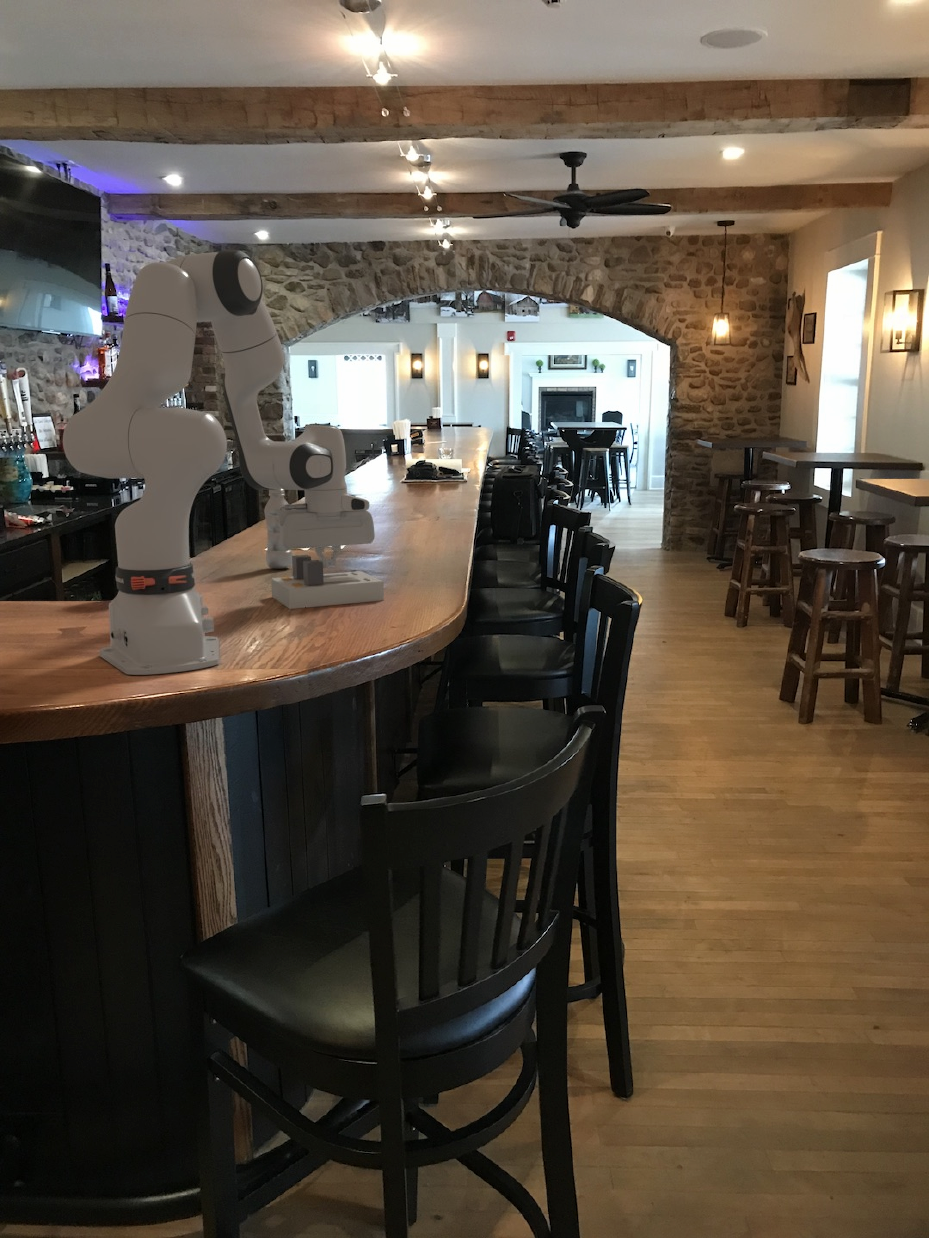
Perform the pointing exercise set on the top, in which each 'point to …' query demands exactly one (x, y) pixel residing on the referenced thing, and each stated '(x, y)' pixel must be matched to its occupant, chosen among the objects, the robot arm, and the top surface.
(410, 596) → the top surface
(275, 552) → the plastic bottle
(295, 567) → the far tab
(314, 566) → the near tab
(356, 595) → the switch housing
